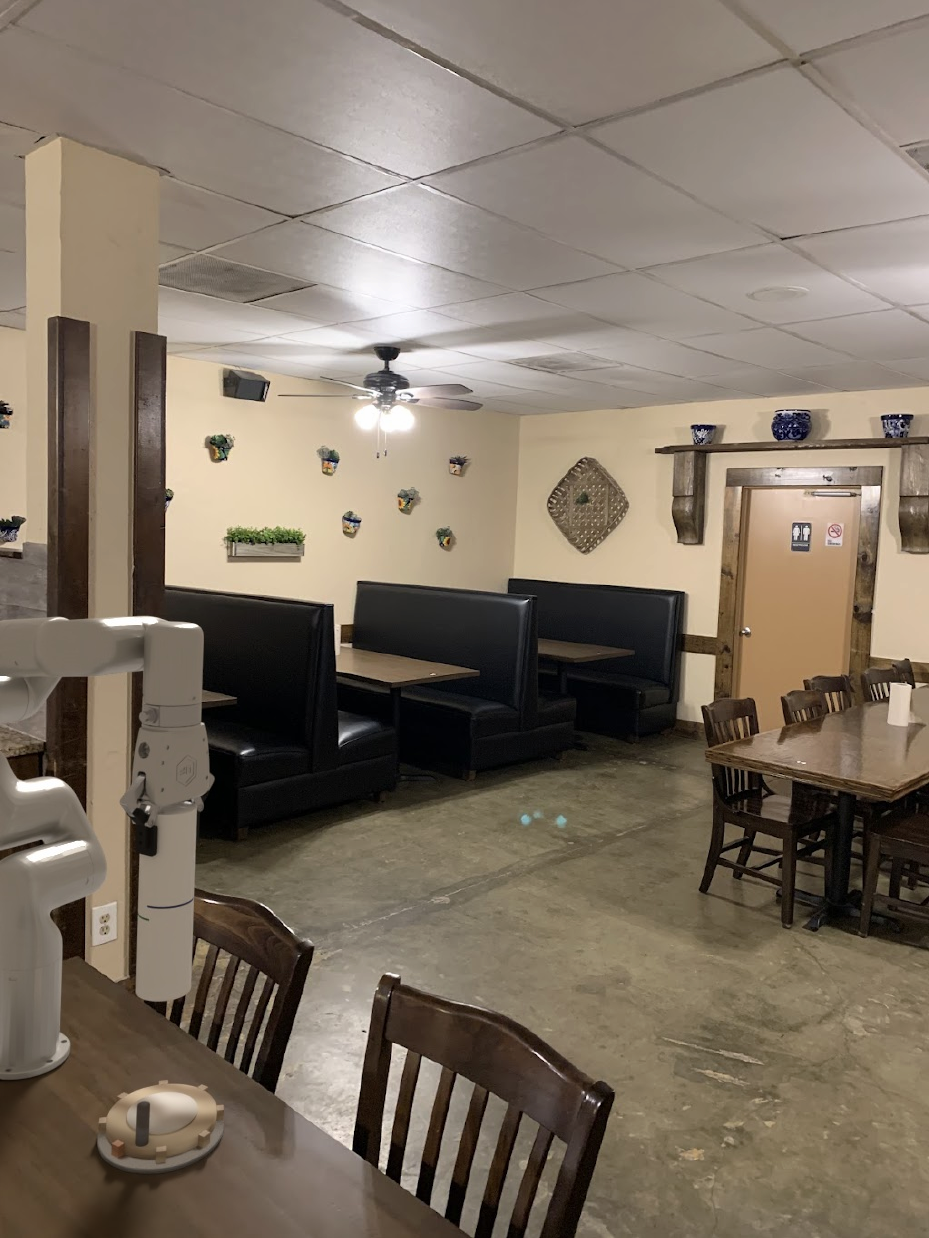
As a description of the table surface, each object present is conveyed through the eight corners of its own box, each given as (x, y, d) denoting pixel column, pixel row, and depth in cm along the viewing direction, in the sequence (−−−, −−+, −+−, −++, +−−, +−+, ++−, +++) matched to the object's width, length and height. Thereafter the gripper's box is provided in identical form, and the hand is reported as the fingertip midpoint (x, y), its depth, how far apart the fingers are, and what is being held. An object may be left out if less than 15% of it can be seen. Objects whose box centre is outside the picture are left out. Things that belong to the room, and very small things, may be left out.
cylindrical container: (175, 1004, 124) (181, 817, 122) (125, 997, 125) (130, 811, 123) (200, 980, 131) (206, 803, 129) (152, 974, 132) (157, 798, 130)
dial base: (70, 1144, 122) (70, 1137, 122) (162, 1085, 136) (162, 1079, 136) (160, 1190, 115) (161, 1182, 115) (248, 1123, 129) (248, 1116, 129)
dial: (133, 1085, 134) (134, 1041, 133) (236, 1098, 132) (238, 1054, 132) (79, 1152, 119) (81, 1103, 118) (194, 1168, 117) (197, 1118, 117)
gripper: (143, 728, 116) (139, 870, 117) (237, 710, 131) (233, 835, 132) (99, 720, 119) (95, 858, 120) (196, 704, 134) (192, 826, 136)
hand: (167, 845), depth 126 cm, fingers closed on cylindrical container, 7 cm apart
